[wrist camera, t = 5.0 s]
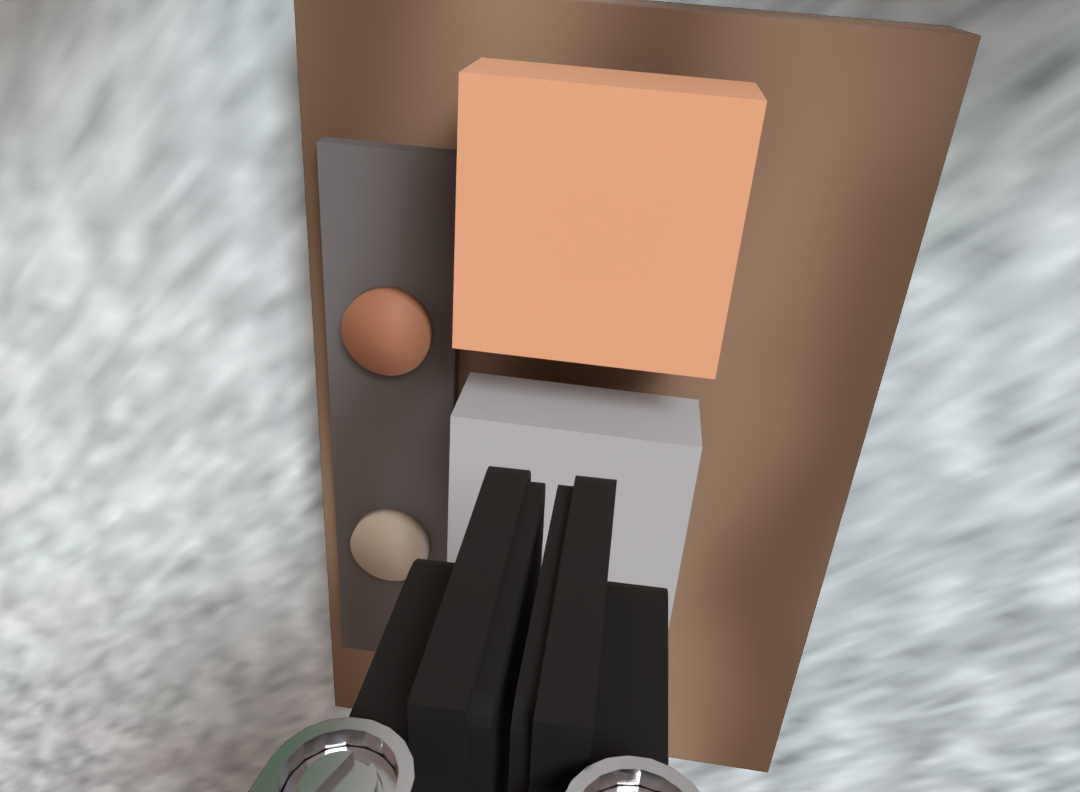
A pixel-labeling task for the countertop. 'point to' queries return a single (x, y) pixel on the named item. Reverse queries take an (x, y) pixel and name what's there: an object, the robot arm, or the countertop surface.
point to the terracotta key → (600, 213)
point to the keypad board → (725, 402)
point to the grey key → (584, 461)
